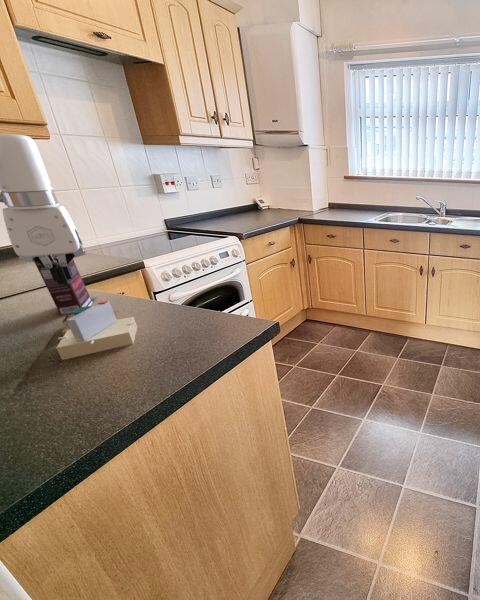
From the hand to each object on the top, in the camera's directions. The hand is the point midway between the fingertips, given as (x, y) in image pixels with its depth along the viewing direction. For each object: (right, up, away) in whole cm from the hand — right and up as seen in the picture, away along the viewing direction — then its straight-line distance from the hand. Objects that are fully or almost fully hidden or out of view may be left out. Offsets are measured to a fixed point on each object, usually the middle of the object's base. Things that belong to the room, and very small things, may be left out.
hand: (65, 282), depth 77 cm
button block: (+1, -11, +5) cm, 12 cm away
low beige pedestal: (+10, -14, -1) cm, 17 cm away
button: (+1, -8, +4) cm, 9 cm away
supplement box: (-11, -7, +14) cm, 19 cm away
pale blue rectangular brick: (+10, -11, -3) cm, 15 cm away
